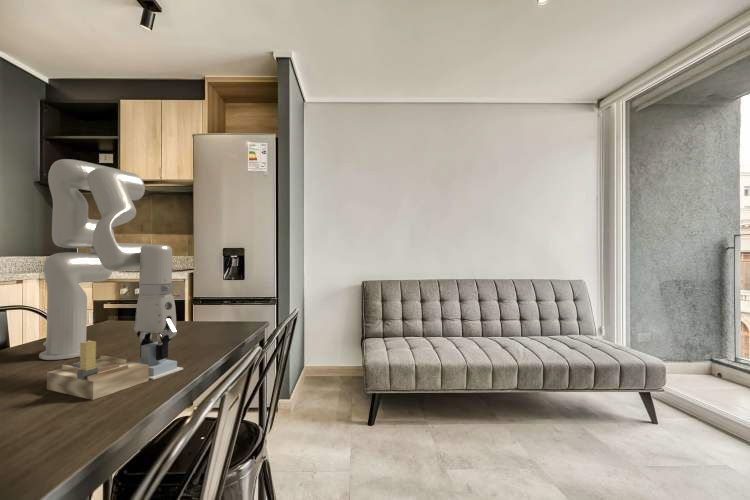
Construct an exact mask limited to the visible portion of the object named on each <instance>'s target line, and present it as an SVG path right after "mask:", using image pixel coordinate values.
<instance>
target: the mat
mask: <svg viewBox="0 0 750 500" xmlns="http://www.w3.org/2000/svg"><path fill="white" fill-rule="evenodd" d="M182 370H184V367H180V366H177V369H174V370H171V371H168V372H165V373H162V374H159V375H156V376H148V380H153V381H154V380H157V379H160V378H162V377H165V376H168V375H171V374H174V373H177V372H180V371H182Z"/></svg>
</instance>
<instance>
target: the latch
mask: <svg viewBox="0 0 750 500" xmlns="http://www.w3.org/2000/svg"><path fill="white" fill-rule="evenodd" d="M96 356H97V341H96V340H95V341H94V340H86V342H81V343H80V356H79V358H80V359H79V361H78V362H73V363H71V366H72V367H76V368H80V370H77V379H82V380H84V379H87V376H91V375H94V374H97V373H98V368H97V367H96V360H97V359H96V358H97V357H96Z"/></svg>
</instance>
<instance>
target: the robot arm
mask: <svg viewBox="0 0 750 500" xmlns="http://www.w3.org/2000/svg"><path fill="white" fill-rule="evenodd" d="M47 175H48V176H47V178H48V179H47V181H48V186H49V191H50V195H51V198H52V220H51V238H52V242H53V244H54V245H55V246H57V247H60V248H65V249H90V252H80V251H79V252H75V251H72V252H70V251H69V252H57V253H53V254H52V255H49V256H48V257H47V258H45V261H44V262H43V273H44V274H43V275H44V278H45V283H46V292H47V293H46V297H47V298H46V300H47V301H46V333H45V334H46V340H45V341H44V342H43V343H42V345H43V346H44V347H45V350H44V351H41V352H40V353H39V354H38V358H39V359H41V360H43V361H44V360H45V361H55V360H57V361H58V360H66V359H67V360H68V359H73V358H74V359H75V358H78V357H79V358H80V343H81V342H86V341H87V328H88V327H87V324H88V323H87V321H88V319H87V318H88V316H87V315H88V295H87V293H86V292H85V290H84V289H83V288H82V286H81V285H80V284H82V283H93V282H94V283H95V282H103V281H106V280H108V279H109V278H110V277H111V276H112V274H113V272H130V271H135V272H137V271H139V272H138V273H139V274H138V275H139V278H138V279H139V281H138V283H139V284H138V287H139V288H138V298H137V302H136V309H135V311H136V312H135V323H134V326H133V327H132V328H133V331H134V332H135V333H136V335H137V337H138V342H139V344H140V345H139V346H140V353H139V357H140V358H141V346H142V345H146V344H150V343H154V342H153V341H154V340H152V337H153V334H154V335H156V342H158V345H156V360H162V359H165V358H166V359H167V358H169V344H171V340H172V339H173V338H174V337H175V336H176V335H177V334H178V332H177V313H176V312H177V311H176V310H177V309H176V303H175V297H174V295H172V290H173V288H172V286H173V284H172V283H173V280H172V276H173V249H172V247H171V246H170V245H167V244H151V243H133V242H132V243H131V242H129V243H127V242H117V240H116V239H115V231H114V229H113V228H116V227H118V226H121V225H125V224H126V223H129V222H130V221H132V220H133V219H135V217H136V215H137V208H136V207H135V205H134V202H133V201H139V200H140V199H142V197H143V196H144V195H145V191H146V186H145V183H144V181H143V179H142V178H141V177H140V176H139V175H138V174H136V173H134V172H130V171H125V170H122V169H119V168H114V167H111V166H110V167H109V166H106V165H101V164H97V163H93V162H88V161H83V160H77V159H69V158H68V159H67V158H64V159H63V158H62V159H58V160H56V161H54V162H53V163H52V165H50V169H49V170H48V174H47ZM79 190H84V191H90V192H91V195H92V198H93V199H94V202H95V204H96V206H97V209H98V211H99V213H100V217H101V218H100V219H91V218H89V203H88V200H87V199H86V197H85V196H84V195H83V193H82V192H81V191H79Z"/></svg>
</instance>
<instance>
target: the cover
mask: <svg viewBox="0 0 750 500" xmlns="http://www.w3.org/2000/svg"><path fill="white" fill-rule="evenodd" d="M156 345H158V341H155V342H153V343H150V344H146V345H142V346H141V357H140V360H139V361H137V362H135V363H141V364H147V365H149V376H156V375H159V374H162V373H165V372H168V371H171V370H174V369H177V367H178V361H177V360H172V359H167V358H165V359H162V360H156Z"/></svg>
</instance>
